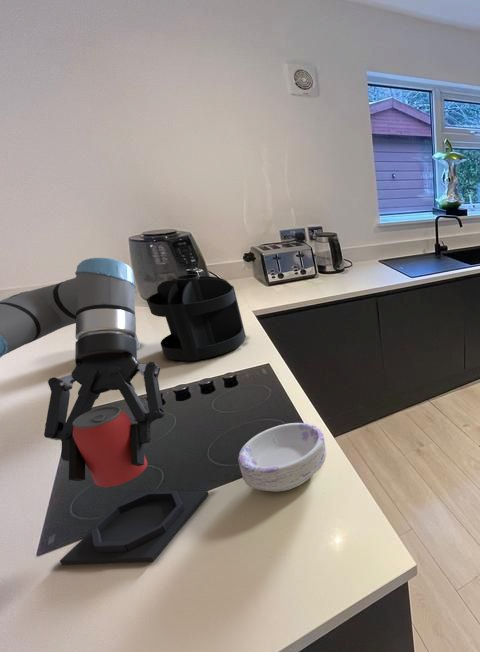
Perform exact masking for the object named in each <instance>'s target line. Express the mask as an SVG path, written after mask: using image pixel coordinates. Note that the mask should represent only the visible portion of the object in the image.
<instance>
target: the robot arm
mask: <svg viewBox="0 0 480 652" xmlns="http://www.w3.org/2000/svg"><path fill="white" fill-rule="evenodd" d="M133 271H134V270H133V269H132V267H131V266H130V265H128V264H127V263H125V262H123V261H121V260H119V259H114V258H108V257H92V258H91V257H90V258H86V259H84V260H82V261H80V263H78V264H77V266H76V271H75V272H74V274H75V277H73V278H70V279H66V280H64V281H61V282H59V283H55V284H50V285H48V286H42V287H39V288H36V289H32V290H26V291H23V292H19V293H15V294H13V295H11V296H9V297H5V298H3V299H1V300H0V359H1V358H2V357H3V356H5V355H7V354H9V353H12V352H13V351H15V350H17V349H19V348H21V347H23V346H26V345H28V344H30V343H32V342H34V341H37V340H39V339H41V338H43V337H45V336H47V335H49V334H53V333H54V332H56V331H58V330H60V329H63V328H66V327H68V326H72V325H74V324H75V337H74V338H75V340H76V341H75V345H74V346H75V349H74V350H75V351H74V352H75V353H74V362H75V367H74V369H73V370H72V371H71V373H70V374H68V375H65V376H62V377H59V378H57V377H51V378H49V379H48V380H47V384H48V387H49V389H50V397H49V402H48V408H47V414H46V420H45V426H44V432H43V436H44V438H46V439H50V440H52V441H53V440H54V441H61V452H60V454H61V455H60V458H61V460H62V461H65V462H68V481H73V482H74V481H75V482H82V481H85V480H86V464H85V461H84V459H83V457H82V455H81V453H80V451H79V449H78V447H77V445H76V443H75V441H74V438H73V427H74V426H73V424H72V423H73V421H74V420H75V419H76V418H77V417H79V416H80V415H82V414H84V413H86V412H88V411H91V410H93V406H94V405H95V403H96V401H97V400H98V399H99V397H100V396H101V394H103V393H107V392H109V391H119V392H120V394H121V396H122V397H123V399H124V402H125V403H126V405H127V407H128V408H129V411H130V412H131V414H132V416H133V418H134V421H135V423H132V424H131V425H130V427H131V429H130V436H131V465H136V466H141V465H144V456H145V448H144V447H145V446H144V445H145V444H149V443H150V442H151V441H152V440H151V439H152V436H151V435H152V434H151V432H152V431H151V424H152V423H153V422H155V421H156V420H159V419H162V418H164V416H165V411H164V406H163V400H162V394H161V389H160V383H159V375H160V372H161V367H160V366H159V365H158V364H157V363H155V362H154V361H149V362H147V363H140V362H139V361H138V359H137V358H138V349H137V346H136V340H135V339H134V338H135V337H136V335H137V325H136V324H137V323H136V321H137V320H136V318H137V317H136V307H135V306H136V305H135V304H136V303H135V301H136V299H135V298H136V286H137V285H136V284H135V278H134V272H133ZM139 372H140V374H141V376H143V383H144V388H145V394H146V400H147V405H148V410H149V411H147V410H146V409H145V406H144V404H143V402H142V401H141V399H140V398H139V396H138V394H137V392H136V389H135V387H134V385H133V383H132V380H133V379H134V377H135V376H136V375H137V374H138V373H139ZM75 382H77V383H78V384H79V385H80V387H79V389H78V392H77V394H78V396H77V398H76V400H75V402H74V404H73V406H72V409H71V410H70V413H69V415H68V410H69V405H70V398H71V392H70V390H72V389H73V385H74V383H75ZM136 422H137V423H136Z"/></svg>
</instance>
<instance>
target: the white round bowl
mask: <svg viewBox="0 0 480 652" xmlns="http://www.w3.org/2000/svg"><path fill="white" fill-rule="evenodd" d="M325 441H326V440H325V436H324V433H323V431H322V430H321V429H320V428H319V427H317V426H316V425H314V424H311V423H305V422H290V423H284V424H279V425H277V426H273V427H269V428H268V429H266V430H264V431H261V432H258V434H256V435H254V436H253V437H252V438H250V439H249V440H248V441H247V442H246V443H245V444H243V446H242V447H241V449H240V451H239V453H238V459H237V460H238V465H239V470H240V473H241V476H242V479H243V481H244V483H245V484H246V485H247V486H248V487H250V488H252V489H254V490H258V491H268V492H275V493H276V492H286V491H290V490H292V489H295V488H297V487H299V486H301V485H302V484H304V483H306V482H307V481H308V480H309V479H310V478H311V477H312V476H314V475H315V474H316V473H317V472H318V471H320V469H321V468H322V467H323V465H324V464H325V461H326V459H327V458H326V457H327V449H326V443H325Z"/></svg>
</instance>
